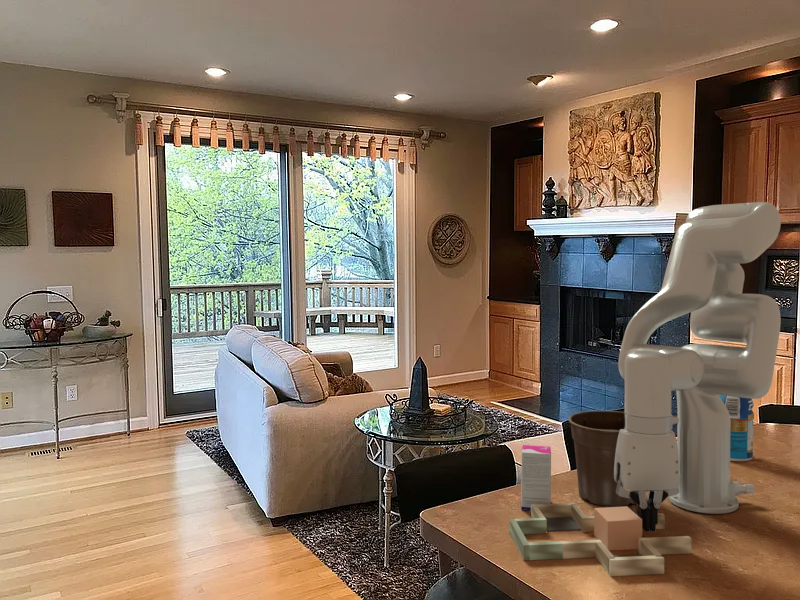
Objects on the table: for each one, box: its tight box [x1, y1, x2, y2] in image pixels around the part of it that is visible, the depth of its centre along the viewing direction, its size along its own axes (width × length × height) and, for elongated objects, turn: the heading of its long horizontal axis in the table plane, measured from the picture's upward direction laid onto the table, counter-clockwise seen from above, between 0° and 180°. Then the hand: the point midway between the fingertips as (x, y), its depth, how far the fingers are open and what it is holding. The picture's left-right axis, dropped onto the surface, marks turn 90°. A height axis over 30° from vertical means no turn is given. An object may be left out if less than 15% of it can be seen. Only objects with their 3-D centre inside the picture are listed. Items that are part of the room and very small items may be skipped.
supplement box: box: [520, 444, 552, 511], centre depth 132 cm, size 6×6×12 cm
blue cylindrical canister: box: [719, 395, 755, 462], centre depth 160 cm, size 8×8×20 cm
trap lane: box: [508, 502, 692, 577], centre depth 114 cm, size 28×24×2 cm
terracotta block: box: [593, 505, 643, 551], centre depth 114 cm, size 6×6×5 cm
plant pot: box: [568, 410, 637, 507], centre depth 135 cm, size 16×16×16 cm
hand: (647, 528), depth 114 cm, fingers closed
